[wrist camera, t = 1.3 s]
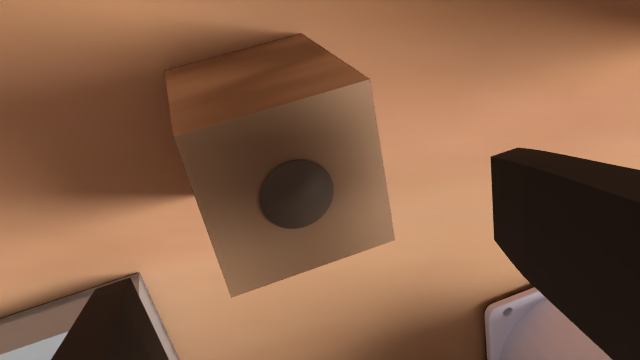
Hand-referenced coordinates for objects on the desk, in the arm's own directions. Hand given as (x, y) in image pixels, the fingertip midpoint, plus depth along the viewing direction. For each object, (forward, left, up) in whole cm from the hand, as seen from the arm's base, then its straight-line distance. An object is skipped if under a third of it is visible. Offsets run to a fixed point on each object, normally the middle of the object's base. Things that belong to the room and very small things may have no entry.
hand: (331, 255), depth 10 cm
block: (0, 0, -9) cm, 9 cm away
